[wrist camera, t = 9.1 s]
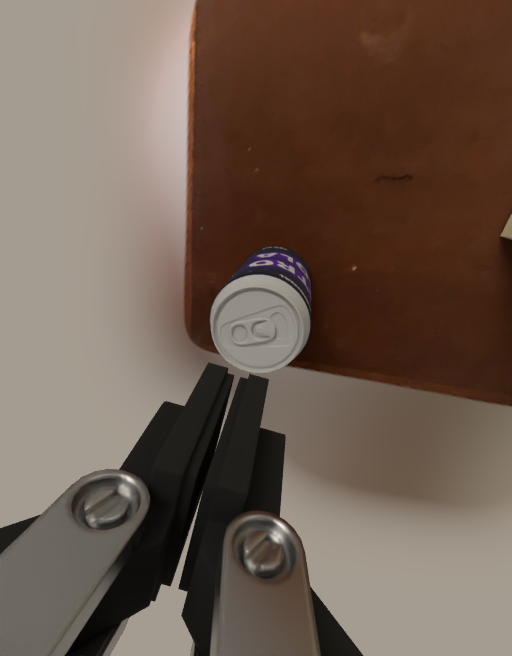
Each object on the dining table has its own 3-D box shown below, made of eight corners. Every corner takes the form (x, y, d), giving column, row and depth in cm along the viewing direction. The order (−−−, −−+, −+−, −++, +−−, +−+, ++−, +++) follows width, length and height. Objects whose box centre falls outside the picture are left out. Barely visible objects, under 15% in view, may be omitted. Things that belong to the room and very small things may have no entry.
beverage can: (315, 306, 31) (320, 372, 20) (250, 317, 32) (218, 386, 21) (303, 237, 29) (301, 267, 18) (234, 252, 30) (190, 289, 19)
